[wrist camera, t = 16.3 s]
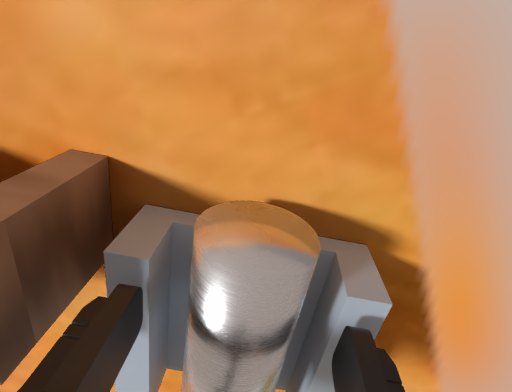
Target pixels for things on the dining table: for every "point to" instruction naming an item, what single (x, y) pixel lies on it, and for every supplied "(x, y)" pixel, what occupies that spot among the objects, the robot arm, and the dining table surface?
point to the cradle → (177, 293)
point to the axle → (245, 295)
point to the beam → (49, 245)
